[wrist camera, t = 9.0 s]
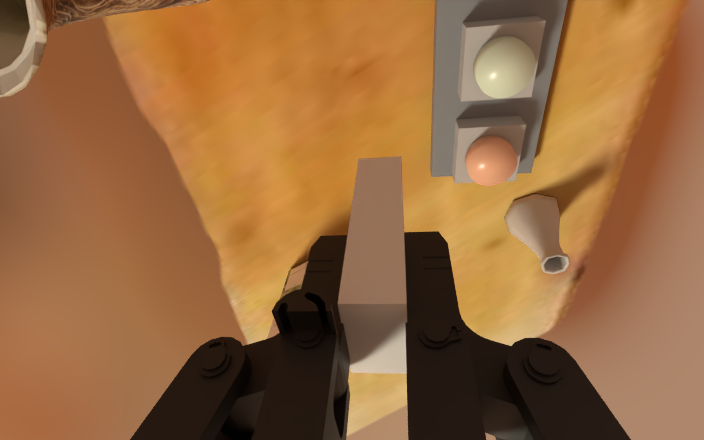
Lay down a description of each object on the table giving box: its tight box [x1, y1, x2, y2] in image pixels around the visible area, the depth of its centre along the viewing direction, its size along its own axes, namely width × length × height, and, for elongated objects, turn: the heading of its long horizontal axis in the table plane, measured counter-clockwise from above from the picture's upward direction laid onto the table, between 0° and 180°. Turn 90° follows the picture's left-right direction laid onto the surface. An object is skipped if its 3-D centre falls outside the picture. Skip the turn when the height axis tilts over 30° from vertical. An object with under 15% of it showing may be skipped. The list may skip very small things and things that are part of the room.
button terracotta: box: [465, 135, 518, 186], centre depth 43 cm, size 5×5×4 cm
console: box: [430, 0, 568, 183], centre depth 39 cm, size 28×12×4 cm, turn 6°
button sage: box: [473, 35, 536, 98], centre depth 37 cm, size 5×5×4 cm
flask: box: [505, 194, 570, 274], centre depth 49 cm, size 7×7×10 cm
